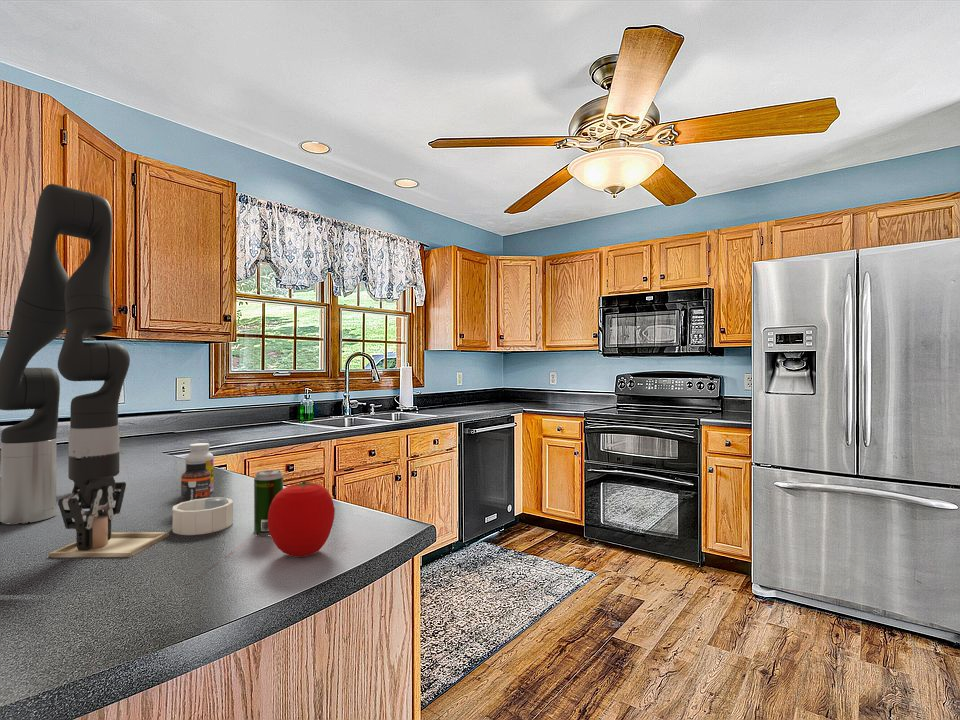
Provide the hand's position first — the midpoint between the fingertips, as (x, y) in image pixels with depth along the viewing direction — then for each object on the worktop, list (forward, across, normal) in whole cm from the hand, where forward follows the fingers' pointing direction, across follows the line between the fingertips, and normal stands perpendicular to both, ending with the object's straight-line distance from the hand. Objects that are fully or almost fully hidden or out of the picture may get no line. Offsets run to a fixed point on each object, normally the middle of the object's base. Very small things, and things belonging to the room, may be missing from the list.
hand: (94, 544), depth 94 cm
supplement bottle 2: (+1, -24, +5) cm, 25 cm away
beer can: (+1, -9, +28) cm, 30 cm away
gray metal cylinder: (0, -13, +16) cm, 20 cm away
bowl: (+1, -12, +14) cm, 18 cm away
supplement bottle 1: (+1, -42, -4) cm, 42 cm away
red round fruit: (+1, +3, +39) cm, 39 cm away
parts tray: (+1, 0, +3) cm, 3 cm away
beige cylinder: (0, 0, 0) cm, 0 cm away
